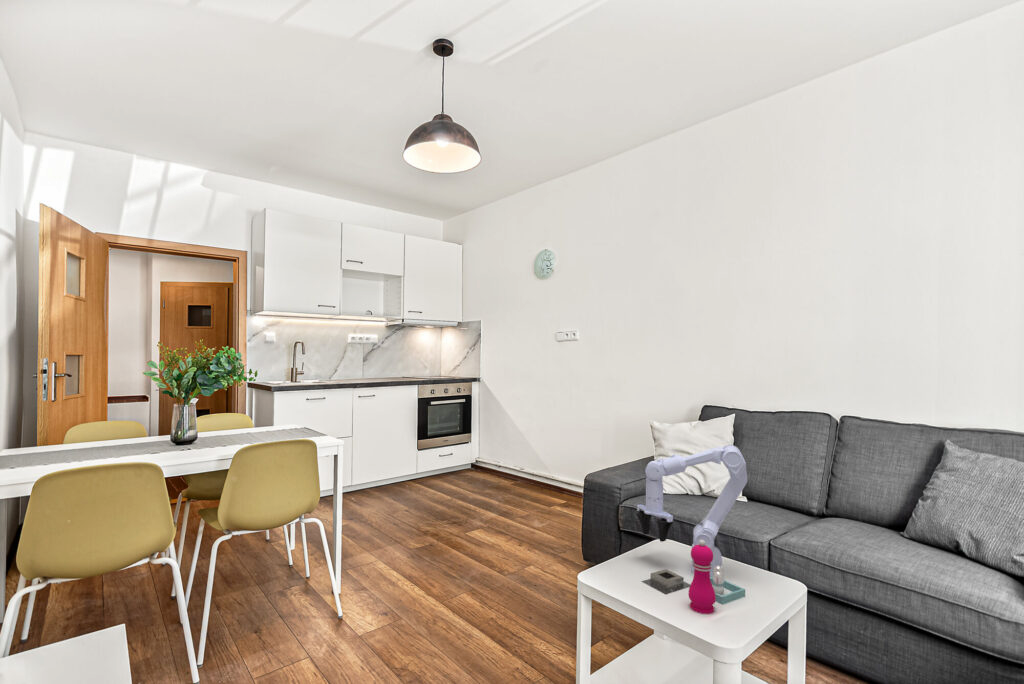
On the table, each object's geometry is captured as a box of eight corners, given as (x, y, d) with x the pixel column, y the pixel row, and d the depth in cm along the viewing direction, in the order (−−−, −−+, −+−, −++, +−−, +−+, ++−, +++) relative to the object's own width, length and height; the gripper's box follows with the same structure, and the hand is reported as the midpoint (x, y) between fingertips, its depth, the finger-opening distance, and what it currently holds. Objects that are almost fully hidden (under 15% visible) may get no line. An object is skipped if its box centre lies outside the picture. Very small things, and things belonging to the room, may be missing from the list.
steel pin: (717, 591, 152) (717, 562, 152) (725, 595, 149) (725, 566, 149) (710, 593, 150) (710, 564, 151) (718, 597, 148) (718, 568, 148)
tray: (715, 585, 157) (715, 576, 157) (745, 599, 148) (745, 589, 148) (692, 593, 152) (692, 583, 152) (722, 607, 143) (722, 597, 143)
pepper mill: (701, 620, 136) (701, 546, 136) (682, 608, 142) (682, 537, 143) (721, 615, 138) (721, 542, 139) (702, 603, 145) (702, 534, 146)
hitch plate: (668, 576, 163) (668, 565, 163) (692, 589, 154) (692, 577, 154) (641, 584, 157) (641, 573, 157) (665, 597, 148) (665, 585, 148)
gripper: (630, 493, 175) (630, 532, 174) (662, 504, 162) (662, 546, 162) (645, 491, 178) (645, 529, 178) (677, 501, 166) (677, 542, 165)
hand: (654, 537), depth 170 cm, fingers open, 7 cm apart
